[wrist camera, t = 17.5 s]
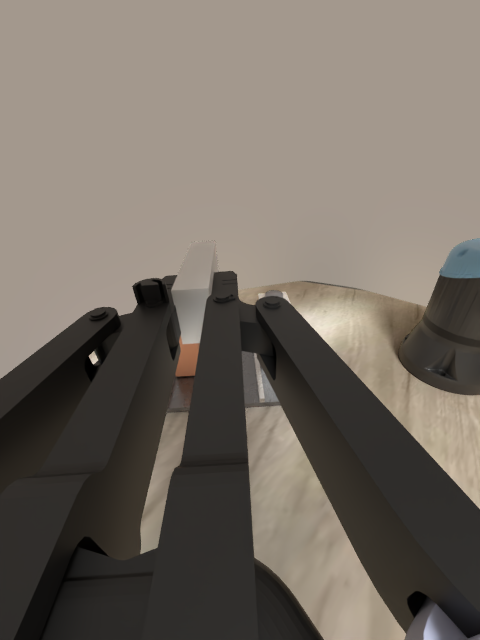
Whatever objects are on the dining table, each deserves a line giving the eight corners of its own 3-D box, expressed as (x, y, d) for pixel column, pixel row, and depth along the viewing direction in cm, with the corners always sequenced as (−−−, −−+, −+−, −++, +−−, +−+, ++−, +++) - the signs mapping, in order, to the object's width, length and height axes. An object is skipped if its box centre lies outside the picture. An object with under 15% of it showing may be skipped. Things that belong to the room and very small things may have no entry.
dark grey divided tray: (293, 349, 55) (294, 338, 53) (311, 403, 43) (313, 391, 42) (171, 357, 55) (168, 346, 53) (155, 413, 43) (151, 401, 42)
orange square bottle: (204, 357, 52) (194, 295, 45) (202, 375, 48) (191, 310, 41) (180, 358, 52) (165, 297, 45) (176, 376, 48) (159, 312, 41)
